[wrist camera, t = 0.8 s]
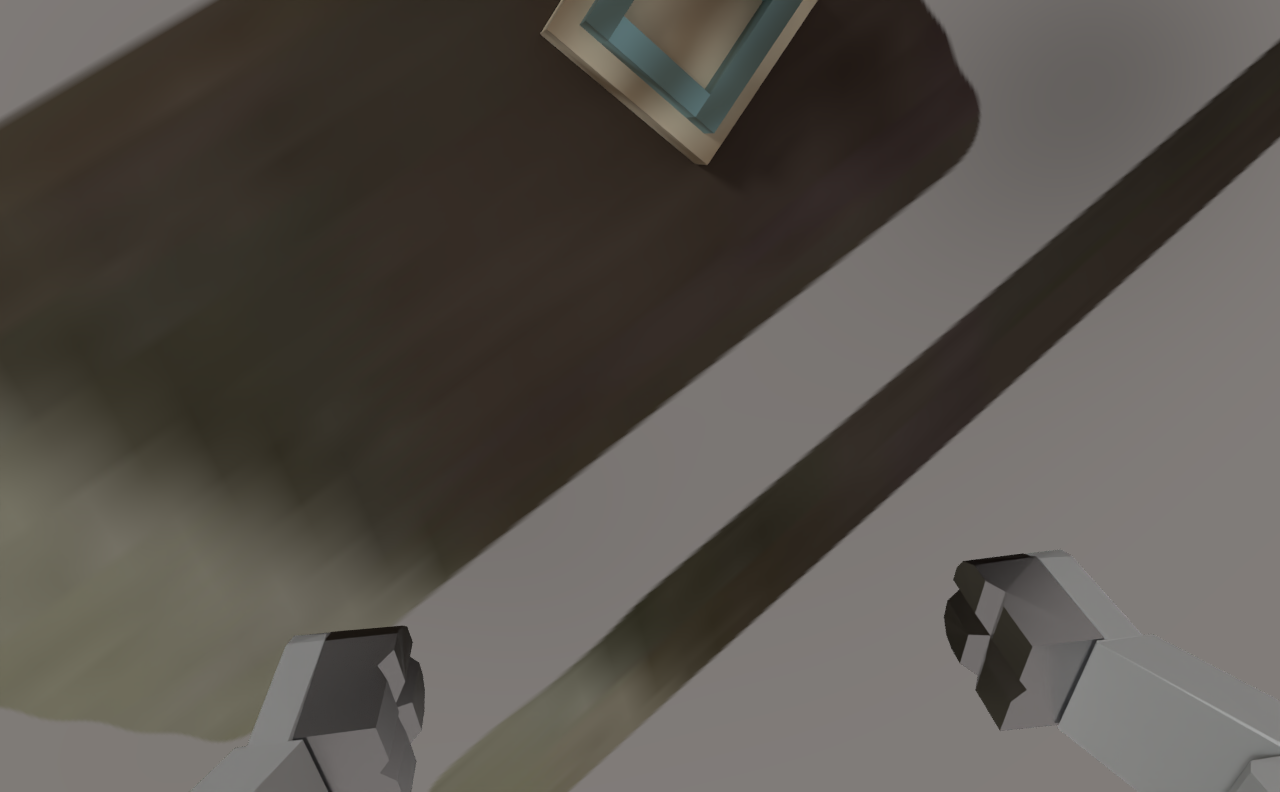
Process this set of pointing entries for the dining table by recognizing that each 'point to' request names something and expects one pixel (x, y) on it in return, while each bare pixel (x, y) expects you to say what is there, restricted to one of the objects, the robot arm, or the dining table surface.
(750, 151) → the dining table surface
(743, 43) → the birch base board
